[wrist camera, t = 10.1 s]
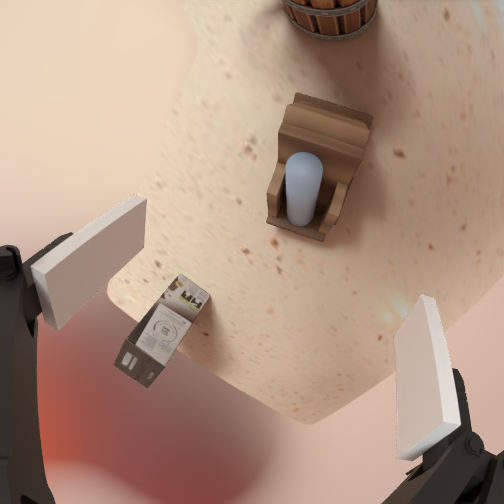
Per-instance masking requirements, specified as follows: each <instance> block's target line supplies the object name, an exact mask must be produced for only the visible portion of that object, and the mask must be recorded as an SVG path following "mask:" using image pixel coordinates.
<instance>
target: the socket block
mask: <svg viewBox="0 0 504 504" xmlns="http://www.w3.org/2000/svg"><path fill="white" fill-rule="evenodd" d="M372 120H373V117H371V116H369V115H366V114H363V113H360V112H357V111H355V110H352V109H349V108H346V107H343V106H340V105H337V104H334V103H331V102H327V101H324V100H321V99H318V98H314V97H311V96H308V95H304V94H301V93H296V94H295V98H294V101H293V104H290V105H287V107H286V111H285V115H284V119H283V123H282V124H281V126H280V129H279V132H278V161H277V165H276V169H275V172H274V174H273V177H272V180H271V182H270V185H269V188H268V190H267V202H268V217H267V220H266V223H268V224H271V225H274V226H277V227H280V228H283V229H286V230H289V231H291V232H294V233H297V234H300V235H303V236H306V237H309V238H312V239H315V240H317V241H320V242H323V241H324V239H325V236H326V234H327V232H328V231H329V229H330V228H331V227H332V225H333V224H334V225H336V222H337V220H338V217H339V215H340V212H341V209H342V206H343V204H344V201H345V198H346V196H347V193H348V190H349V187H350V185H351V182H352V179H353V176H354V173H355V172H356V170H357V168H358V166H359V165H360V163H361V161H362V159H363V155H364V151H365V150H364V149H365V146H366V144H367V141H368V138H369V135H370V131H369V129H370V126H371V123H372ZM299 152H308V153H311V154H313V155H315V156H316V157H318V158H319V160H320V161H321V163H322V166H323V173H322V178H321V183H320V188H319V193H318V197H317V202H316V207H315V212H314V216H313V219H312V221H311V222H310V223H309V224H308V225H306V226H295V225H293V224H292V223H291V222H290V221H289V219H288V217H287V200H286V172H285V166H286V162H287V160H288V159H289V158H290V157H291V156H292V155H294V154H296V153H299Z"/></svg>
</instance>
